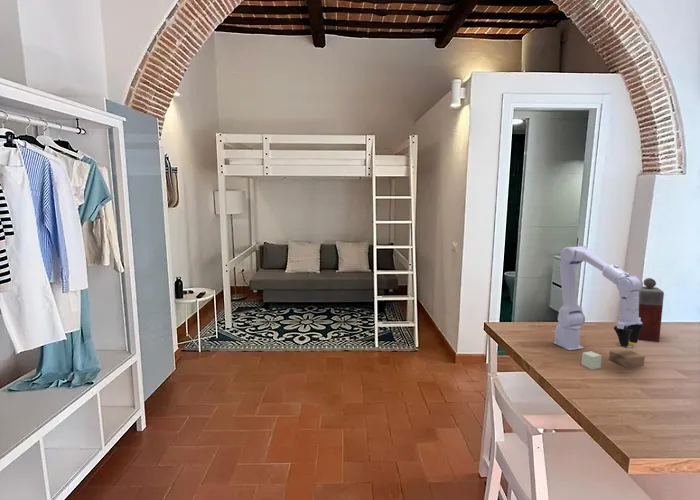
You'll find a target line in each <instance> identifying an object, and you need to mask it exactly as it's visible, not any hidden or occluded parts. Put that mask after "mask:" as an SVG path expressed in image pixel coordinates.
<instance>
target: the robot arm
mask: <svg viewBox="0 0 700 500" xmlns="http://www.w3.org/2000/svg"><path fill="white" fill-rule="evenodd" d="M559 253H560V254H559V256H560V259H559V273H560V275H559V276H560V284H561V295H562V305H561V306H560V308H559V309H558V315H557V321H558V324H557V325H556V326H555V329H554V330H555V332H554V341H553V342H552V343H553V344H556V346H559V347H561V348H563V349H566V350H568V351H574V350H583V349H585V347H584V346H582V345H580V337H581V328H582V327H583V326H582V325H584V324H585V322H586V316H585V314H584V311H583V308H582V307H581V306H580V305H579V304H578V295H577V294H578V293H577V283H576V275H575V273H576V272H575V268H576V267H577V266H579V264H581V263H583V262H586V263H588V264H589V265H591V266H592V267H593V268H594V267H595V269H598V271H601V272H602V273H601V274H602V276H603V277H604V278H605V279H607V280H608V281H610V282H612V283H613V284H614V285H615V286H616V288H617V290H618V292H619V293H618V295H619V299H620V300H619V319H618V322H617V323H616V325H615V326H613V329H614V331H615V333H616V335H617V338H618V340H619V342H620V345H621V346H620V345H619V346H620V347H622V346H623V348H627V347H628V344H629V340H630V342H632V343H633V344H637V343H638V342H639V340H638V338H639V335H640V332H641V330H642V329H643V327H644V324H642V322H641V318H639V290H641V289H642V287H643V286H644V281H643V280H642V278H640V277H639V276H637V275H631V274H630V273H629V272H626V271H624V270H623V269H622V268H620V266H619V265H618V264H609V263H608V262H606V261H605V260H603V259H602V258H601V257H599V256H598V255H597V254H596V253H594V252H593V250H592V249H590V248H588V247H587V246H585V245H579V246H566V247H564V248H563V249H562V250H561V251H560V252H559Z"/></svg>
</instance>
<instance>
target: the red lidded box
mask: <svg viewBox="0 0 700 500" xmlns="http://www.w3.org/2000/svg"><path fill="white" fill-rule="evenodd" d="M656 286H657V282H656V280H655V279H653V278H652V277H648V278H645V279H644V280H643V287H642V289H641V290H639V318H641V322H642V324H644V327H643V329H642V330H641V332H640V335H639V338H638V341H645V342H651V343H652V342H653V343H654V342H655V343H660V338H661V329H662V328H661V327H662V316H663V305H664V296H665V292H664V291H663V290H661V289H660V288H659V287H656Z"/></svg>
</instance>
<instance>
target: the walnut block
mask: <svg viewBox="0 0 700 500" xmlns="http://www.w3.org/2000/svg"><path fill="white" fill-rule="evenodd" d="M645 357H646V356H645V355H642V354H640V353H637V352H635V351H633V350H630V349H628V348H621V349H613V350H609V358H608V360H609V361H611V362H613V363H615V364H617V365H621V366H622V367H624V368H627V369H628V368H629V369H630V368H637V367H643V366H645Z"/></svg>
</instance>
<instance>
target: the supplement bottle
mask: <svg viewBox="0 0 700 500" xmlns="http://www.w3.org/2000/svg"><path fill="white" fill-rule="evenodd" d="M617 341H618V345H619V346H620V347H623V346H621V345H620V342H619V339H618V340H617ZM633 347H634V343H632V342H630V340H629V344H628V347H626V349H628V348H629V349H630V348H633ZM623 348H624V347H623Z"/></svg>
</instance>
